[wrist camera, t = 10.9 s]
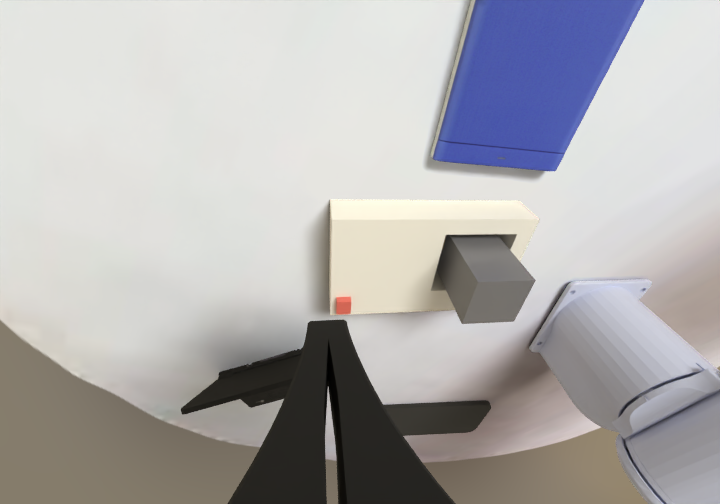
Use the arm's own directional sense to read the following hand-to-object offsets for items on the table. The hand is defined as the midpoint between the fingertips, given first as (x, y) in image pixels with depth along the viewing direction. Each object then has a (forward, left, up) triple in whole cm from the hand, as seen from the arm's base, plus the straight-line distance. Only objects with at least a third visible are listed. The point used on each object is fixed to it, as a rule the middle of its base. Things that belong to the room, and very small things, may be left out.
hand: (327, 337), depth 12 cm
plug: (-3, -10, -10) cm, 15 cm away
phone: (-30, -13, -11) cm, 34 cm away
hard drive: (+9, -11, -11) cm, 18 cm away
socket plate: (-4, -7, -10) cm, 13 cm away
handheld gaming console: (-17, +4, -11) cm, 20 cm away
